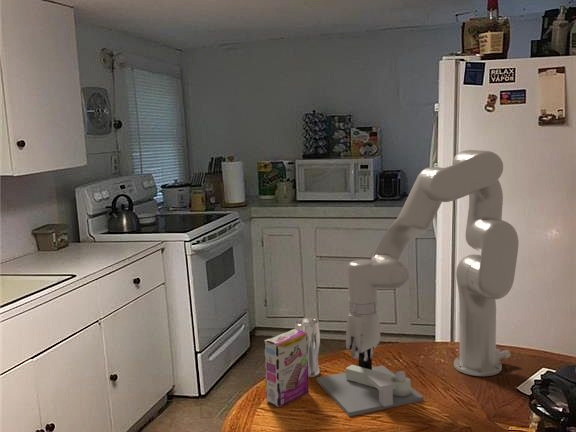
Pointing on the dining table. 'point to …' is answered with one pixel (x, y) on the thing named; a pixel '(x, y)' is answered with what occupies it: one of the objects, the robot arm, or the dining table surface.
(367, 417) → the dining table surface
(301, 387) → the candy bar box
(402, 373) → the link
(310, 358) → the beer glass
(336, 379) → the board
